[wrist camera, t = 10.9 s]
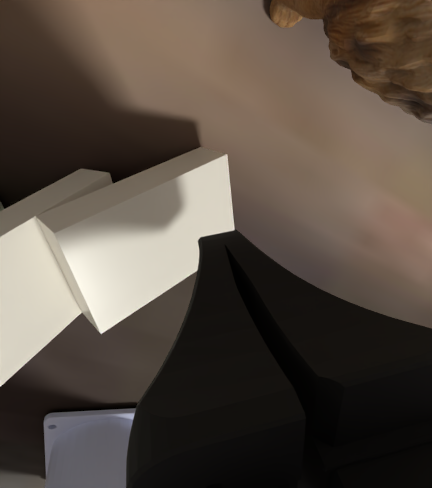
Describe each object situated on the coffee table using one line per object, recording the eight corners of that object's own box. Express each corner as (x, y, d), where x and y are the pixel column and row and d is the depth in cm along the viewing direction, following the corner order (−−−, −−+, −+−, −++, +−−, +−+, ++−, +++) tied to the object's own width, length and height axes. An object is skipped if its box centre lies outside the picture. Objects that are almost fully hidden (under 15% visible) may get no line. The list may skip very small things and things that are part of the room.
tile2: (109, 172, 13) (-90, 289, 8) (137, 261, 16) (-3, 389, 11) (81, 168, 14) (-117, 273, 9) (112, 254, 16) (-30, 370, 12)
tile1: (227, 153, 13) (54, 233, 10) (235, 244, 16) (100, 333, 12) (200, 146, 14) (35, 216, 11) (212, 233, 17) (82, 312, 13)
